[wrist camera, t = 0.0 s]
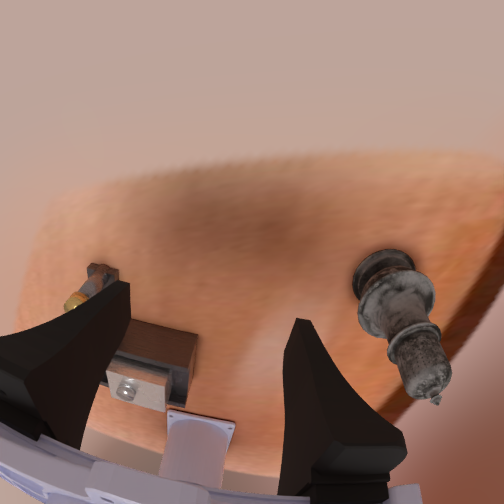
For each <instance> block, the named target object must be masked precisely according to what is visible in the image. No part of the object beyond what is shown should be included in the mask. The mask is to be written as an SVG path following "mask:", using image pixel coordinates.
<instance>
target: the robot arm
mask: <svg viewBox="0 0 504 504" xmlns="http://www.w3.org/2000/svg"><path fill="white" fill-rule="evenodd" d="M130 320H131V305H130V283H127V282H123V281H119V280H116V281H115V282H113V283H112V284H110V285H109V286H107V287H106V288H104V289H103V290H101V291H100V292H99V293H97V294H96V295H94V296H93V297H91V298H90V299H88V300H87V301H85V302H83V303H82V304H80V305H78V306H77V307H75V308H73V309H72V310H70V311H68V312H67V313H65V314H63V315H61V316H59V317H57V318H55V319H53V320H51V321H49V322H46V323H44V324H41V325H39V326H36V327H33V328H31V329H28V330H25V331H21V332H18V333H14V334H10V335H7V336H1V337H0V477H1V478H3V479H4V480H6V481H7V482H9V483H10V484H12V485H13V486H15V487H17V488H18V489H20V490H22V491H23V492H25V493H26V494H28V495H30V496H32V497H33V498H35V499H37V500H39V501H41V502H42V503H44V504H423V503H422V497H421V492H420V487H419V484H417V483H415V484H407V485H399V486H394V487H391V488H388V487H387V482H389V481H390V474H389V472H390V471H391V470H393V469H394V468H395V467H396V466H397V465H399V464H400V463H401V462H402V461H403V460H404V459H405V457H406V455H407V449H406V444H405V439H404V436H403V433H402V432H401V431H400V430H399V429H398V428H396V427H395V426H393V425H392V424H391V423H389V422H388V421H386V420H385V419H384V418H383V417H381V416H380V415H379V414H378V413H377V412H375V411H374V410H373V409H372V408H371V407H370V406H369V405H368V404H367V403H366V402H365V401H364V400H363V399H362V398H361V397H360V396H359V395H358V394H357V393H356V392H355V390H354V389H353V388H352V387H351V386H350V384H349V383H348V382H347V381H346V380H345V378H344V377H343V376H342V374H341V373H340V371H339V370H338V368H337V367H336V365H335V364H334V362H333V361H332V359H331V357H330V355H329V354H328V352H327V350H326V349H325V347H324V345H323V343H322V341H321V339H320V338H319V336H318V334H317V332H316V330H315V328H314V326H313V324H312V322H311V321H310V320H305V319H300V318H296V321H295V323H294V326H293V329H292V332H291V334H290V337H289V340H288V342H287V345H286V348H285V350H284V359H283V388H284V406H285V430H284V444H283V454H282V464H281V472H280V480H279V486H278V494H277V495H265V494H255V493H246V492H238V491H231V490H224V489H221V485H222V477H223V471H224V463H225V456H226V453H227V450H228V447H229V444H230V441H231V438H232V435H233V432H234V429H235V423H233V422H229V421H223V420H218V419H213V418H207V417H203V416H198V415H193V414H188V413H184V412H180V411H175V410H171V409H170V410H168V412H167V435H168V438H167V442H166V446H165V450H164V454H163V457H162V461H161V466H160V469H159V473H158V475H154V474H150V473H146V472H143V471H139V470H136V469H133V468H129V467H126V466H123V465H120V464H117V463H113V462H110V461H107V460H104V459H101V458H98V457H95V456H93V455H90V454H88V453H85V452H82V451H80V447H81V442H82V438H83V434H84V430H85V427H86V423H87V419H88V416H89V413H90V410H91V407H92V404H93V401H94V398H95V395H96V392H97V390H98V387H99V384H100V382H101V380H102V378H103V375H104V373H105V372H106V370H107V368H108V366H109V364H110V362H111V360H112V359H113V357H114V355H115V353H116V351H117V349H118V348H119V346H120V344H121V342H122V340H123V338H124V336H125V333H126V331H127V328H128V326H129V323H130Z"/></svg>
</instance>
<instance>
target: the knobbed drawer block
mask: <svg viewBox="0 0 504 504" xmlns="http://www.w3.org/2000/svg"><path fill="white" fill-rule="evenodd" d="M106 374H107V379H108V383H109V388H110V392H111V397H112V398H116V399H119V400H122V401H125V402H128V403H132V404H135V405H139V406H142V407H146V408H149V409H153V410H157V411H161V412H165V411H166V407H167V404H168V400H169V397H170V394H171V390H172V369H168V368H164V367H160V366H156V365H152V364H148V363H145V362H141V361H137V360H134V359H130V358H127V357H123V356H120V355H116V354H115V355H114V357H113V359H112V360H111V362H110V364H109V366H108V368H107V370H106Z"/></svg>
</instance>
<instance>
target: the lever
mask: <svg viewBox="0 0 504 504" xmlns="http://www.w3.org/2000/svg"><path fill="white" fill-rule="evenodd" d="M88 299H89V298H88V297H87V296H86V295H85V294H83V293H81V292H74V293H73V294H72V295H71V296H70V298H69V299H68V300H67V301H66V303H65V304H64V310H65V312H66V313H67V312H68V311H70V310H72V309H73V308H75V307H77V306H78V305H80V304H82V303H83V302H85V301H87V300H88Z"/></svg>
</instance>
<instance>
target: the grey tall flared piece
mask: <svg viewBox="0 0 504 504" xmlns="http://www.w3.org/2000/svg"><path fill="white" fill-rule="evenodd" d="M352 285H353V291H354V293H355V295H356V297H357V299H358V300H360V303H359V307H358V320H359V323H360V325H361V327H362V328H363V330H365V331H366V332H367V333H368V334H370V335H372V336H374V337H377V338H384V339H387V341H388V343H389V346H388V349H387V356H388V358H389V360H390V361H391V362H392V363H393V364H396V365H397V366H398V369H399V372H400V375H401V378H402V381H403V384H404V388H405V390H406V392H407V393H408V395H409V396H411V397H413V398H415V399H428V398H431V400H430V402H431V403H433V404H435V405H439V403H440V401H441V398H442V396H441V395H439V393H440V392H441V391H443V390H444V389H445V388H446V386H447V385H448V384H449V382H450V379H451V376H452V370H451V365H450V363H449V361H448V359H447V357H446V355H445V353H444V351H443V349H442V347H441V344H440V340H441V331H440V329H439V327H438V326H437V325H435V324H433V323H431V322H430V320H429V318H428V316H429V314H430V313H431V311H432V309H433V306H434V303H435V289H434V286H433V283H432V282H431V281H430V279H429V278H428V277H427V276H425V275H424V274H422V273H420V272H417V271H416V268H415V265H414V263H413V261H412V259H411V258H410V257H409V256H408V255H407V254H405V253H404V252H402V251H399V250H395V249H385V250H382V251H378V252H375V253H374V254H372V255H370V256H368V257H367V258H366V259H365V260H364V261H362V262H361V264H360V265H359V266H358V268H357V269H356V272H355V274H354V276H353V284H352Z"/></svg>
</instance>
